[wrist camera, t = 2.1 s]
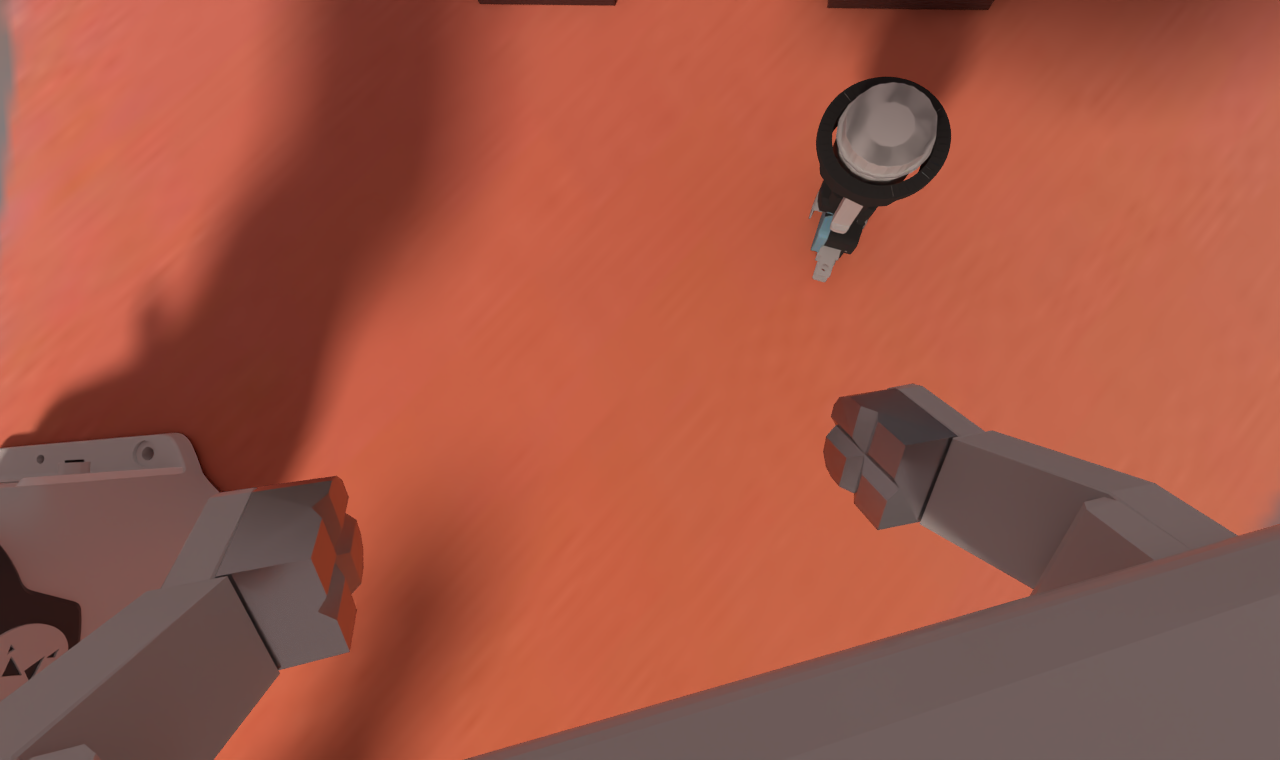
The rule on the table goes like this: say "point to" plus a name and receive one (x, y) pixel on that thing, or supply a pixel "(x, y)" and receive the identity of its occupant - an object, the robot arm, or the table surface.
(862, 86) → the push button
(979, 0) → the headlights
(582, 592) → the table surface
